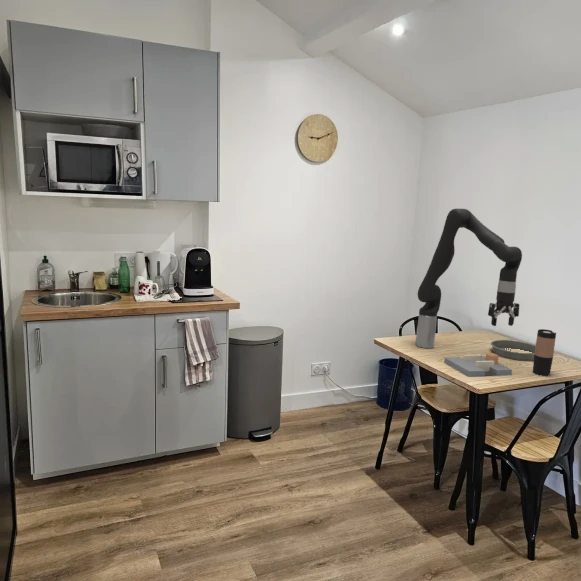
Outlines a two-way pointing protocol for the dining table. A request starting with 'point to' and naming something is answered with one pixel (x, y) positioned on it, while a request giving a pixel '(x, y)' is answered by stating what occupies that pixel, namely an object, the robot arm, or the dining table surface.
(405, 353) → the dining table surface
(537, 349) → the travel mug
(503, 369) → the tunnel deck
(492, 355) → the block
